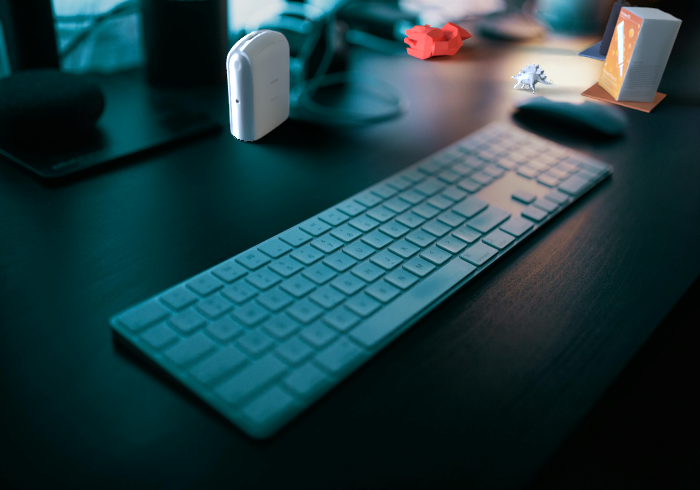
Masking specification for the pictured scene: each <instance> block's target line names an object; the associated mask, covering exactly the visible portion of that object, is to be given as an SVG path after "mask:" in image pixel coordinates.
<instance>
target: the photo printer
mask: <svg viewBox="0 0 700 490" xmlns="http://www.w3.org/2000/svg"><path fill="white" fill-rule="evenodd" d="M226 57H227V58H226V70H227V71H226V73H227V86H228V87H227V88H228V104H229V124H230V133H231V135H233V137H234V136H235V137H236V138H237V140H238V139H240V140H239V141H241V140H244V141H243V142H247V141H251V142H254V141H257V140H259V139H261V138H263V137H264V136H266V135H267V134H269V133H270V132H272V131H273V130H274V129H276V128H278V127H279V126H280V125H282V123H284V122H285V121H286V120H287V119H288V118H289V116H290V45H289V41H288V40H287V37H286V36H285V35H284V34H283V33H282V32H280V31H275V30H271V29H259V30H255V31H252V32H251V33H248V34H247V35H245V36H244V37H242V38H240V40H238V41H237V42H236V43H235V44H234V45H233V46H232V48H231V49H230V51H229V52H228V54H227V56H226ZM235 137H234V138H235ZM236 138H235V139H236Z"/></svg>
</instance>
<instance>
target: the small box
mask: <svg viewBox="0 0 700 490" xmlns="http://www.w3.org/2000/svg"><path fill="white" fill-rule="evenodd" d="M682 22H683V20H681V19H680V18H677V17H676V16H673V15H672V14H670V13H668V12H664V11H662V9H661V10H660V9H659V8H653V7H641V6H640V7H639V6H638V7H634V6H631V7H622V8H621V11H620V14H619V18H618V21H617V24H616V27H615V31H614V34H613V37H612V40H611V44H610V47H609V50H608V53H607V57H606V60H605V61H604V63H603V66H602V70H601V73H600V76H599V79H598V81H599V82H598V81H597V82H598V84H599V85H600V86H601V87H603V88H604V89H605V90H606V91H607V92H608V93H609V94H611V95H612V96H613V97H614V98H615V99H616V100H617V101H634V102H653V100H654V97H655V94H656V92H658V89H659V86H660V83H661V80H662V77H663V74H664V72H665V69H666V66H667V64H668V61H669V58H670V55H671V53H672V50H673V47H674V44H675V41H676V39H677V36H678V33H679V30H680V27H681V25H682Z"/></svg>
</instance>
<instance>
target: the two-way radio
mask: <svg viewBox="0 0 700 490" xmlns="http://www.w3.org/2000/svg"><path fill="white" fill-rule="evenodd" d="M622 7H632V4H630V3H629V2H628V1H627V0H617V1H615V2H614V3H613V4H612V8H611V11H610V14H609V18H608V22H607V23H606V26H605V30H604V33H603V37H602V39H601V41H602V42H601V46H600V50H599V54H601V55H604V56H607V53H608V50H609V47H610V44H611V40H612V37H613V34H614V31H615V27H616V24H617V21H618V18H619V14H620V11H621V8H622ZM633 7H639V6H638V5H633Z"/></svg>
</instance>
